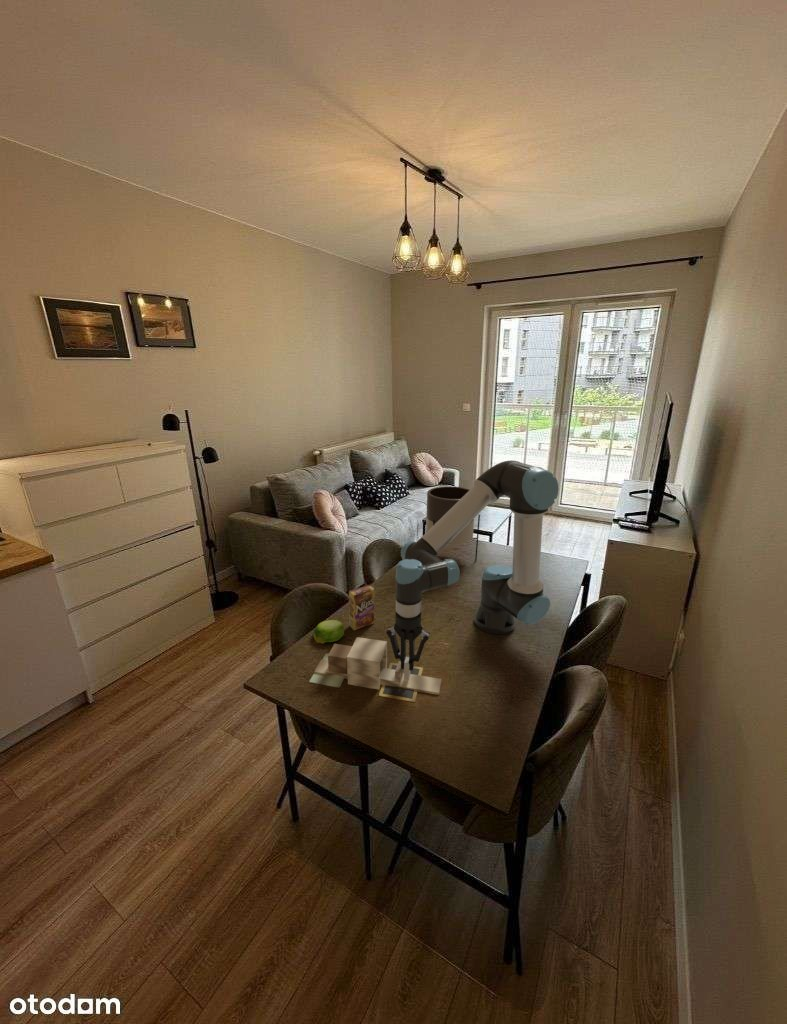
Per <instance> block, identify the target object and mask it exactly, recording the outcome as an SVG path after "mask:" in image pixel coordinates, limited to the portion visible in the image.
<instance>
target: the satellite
mask: <svg viewBox="0 0 787 1024" xmlns="http://www.w3.org/2000/svg"><path fill="white" fill-rule="evenodd" d="M351 646H352V648H351V650H350V652H349V654H348V656H347V673H348V676H346V675H340V674H334V673H328V672H326V669H327V668H328V654H329V653H325V654H324V656H323V658H322V659H321V660H320V661H319V663H318V664H317V666H316V667H315V669H314V673H313V674H312V676H311V678H310V679H309V681H308V682H309V683H311V684H315V685H316V684H317V685H323V686H328V687H334V688H337V689H338V688H341V686H342V684H343V682H344V679H345V680H347V685H350V686H355V687H361V688H362V687H363V688H367V689H374V690H379V693H378V697H383V698H387V699H388V698H389V699H394V700H398V701H399V700H401V701H406V702H411V703H416V700H417V699H416V698H417V695H418V692H419V693H426V694H430V695H431V694H432V695H438V696H440V691H441V685H442V678H438V677H431V676H425V675H422V674H423V670H424V667H421V666H416V665H414V668H413V670H410V678H409V681H408V680H404V671H403V677H402V680H401V684H400V685H399V684H393V683H387V682H381V681H380V667H381V668H388V669H394V670H396V667H397V664H398V662H390V663H389V665H388V641H387V640H386V641H385V640H381V639H380V640H379V639H372V638H365V637H356V638H355V640H354V642H353V645H351Z"/></svg>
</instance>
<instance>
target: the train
mask: <svg viewBox="0 0 787 1024" xmlns="http://www.w3.org/2000/svg"><path fill="white" fill-rule="evenodd" d="M352 646H353V645H345V644H340V643H333V646H332V648H331V649H330V651H329V653H328V668H327V669H326V672H328V673H334V674H340V675H346V676H348V673H347V656H348V654H349V652H350V650H351V648H352ZM388 668H389V667H387V668H381V667H380V681H381V682H387V683H393V684H399V685H400V684H401V680H402V677H403V671H404V669H401V660H398V662H397V667H396V670H394V669H388Z"/></svg>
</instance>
